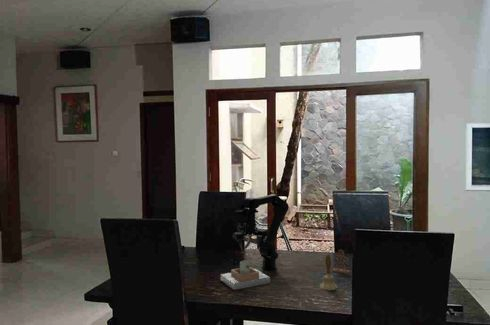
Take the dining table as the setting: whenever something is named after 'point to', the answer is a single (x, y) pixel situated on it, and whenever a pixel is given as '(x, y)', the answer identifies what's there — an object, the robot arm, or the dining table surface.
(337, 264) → the gingerbread man figurine
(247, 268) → the spout can
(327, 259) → the hand bell
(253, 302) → the dining table surface
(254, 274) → the grey board with frame
